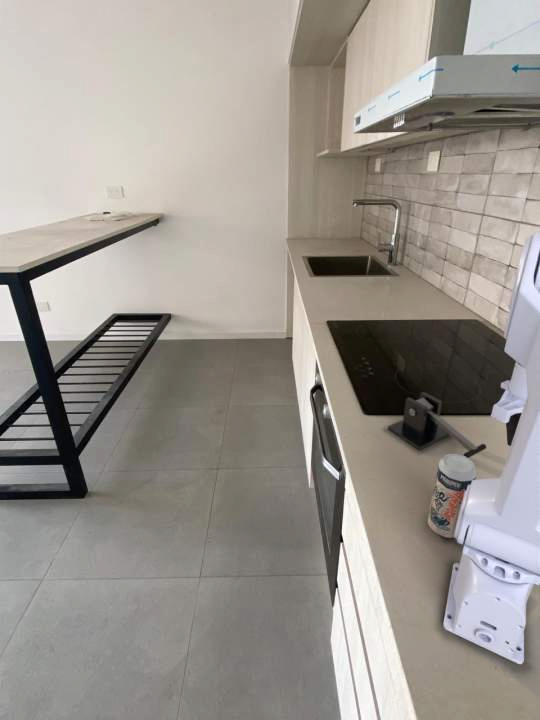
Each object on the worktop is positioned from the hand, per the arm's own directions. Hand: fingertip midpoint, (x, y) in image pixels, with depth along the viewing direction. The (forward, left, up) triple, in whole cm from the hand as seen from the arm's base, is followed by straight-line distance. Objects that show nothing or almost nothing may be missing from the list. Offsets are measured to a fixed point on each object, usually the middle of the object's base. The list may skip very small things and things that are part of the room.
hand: (516, 446), depth 59 cm
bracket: (+12, +15, -10) cm, 22 cm away
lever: (+9, +11, -7) cm, 16 cm away
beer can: (-10, +7, -11) cm, 16 cm away
